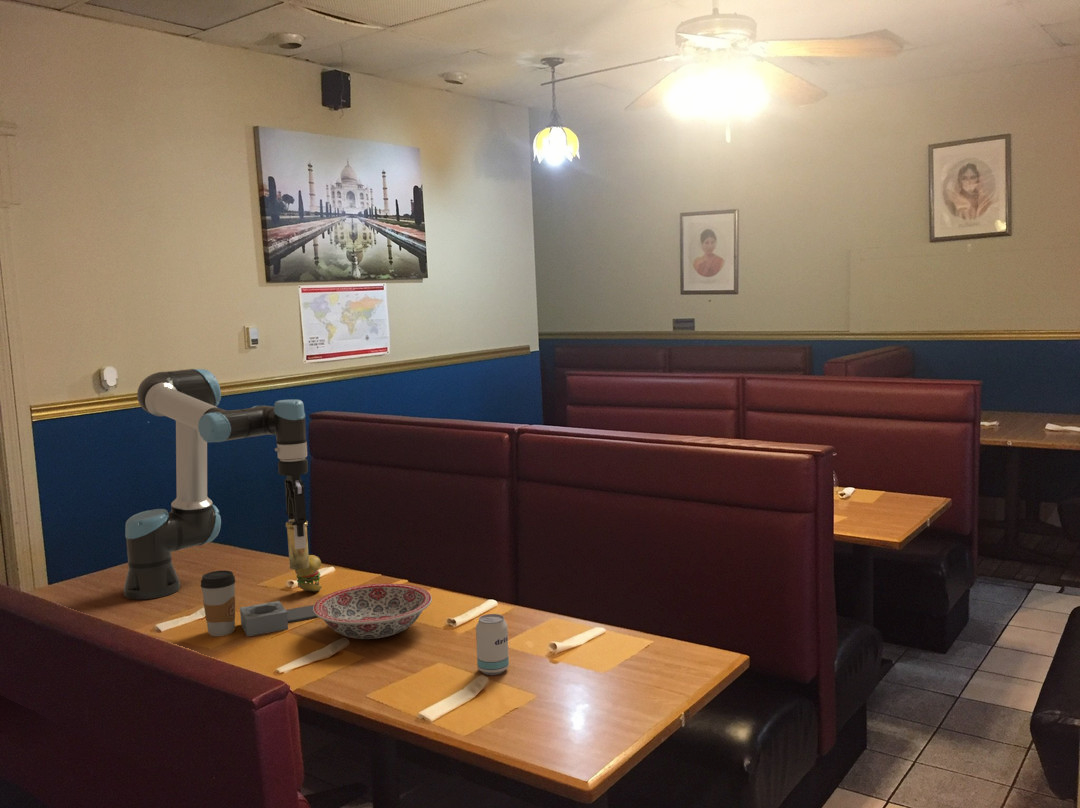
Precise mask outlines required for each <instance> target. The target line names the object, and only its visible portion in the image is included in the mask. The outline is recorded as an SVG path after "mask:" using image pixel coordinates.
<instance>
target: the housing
mask: <svg viewBox="0 0 1080 808" xmlns="http://www.w3.org/2000/svg"><path fill="white" fill-rule="evenodd" d="M286 610H287V609H285V607H284V605H283V604H282V603H281V601H280V600H276V601H272V602H265V603H259V604H253V605H248V606H242V607H239V612H240V613H239V615H240V625H241V627H242V629H243V631H244V633H245V635H246V637H253V636H258V635H259V636H260V635H264V634H270V633H274V632H279V631H284V630H289V623H288V620H287V611H286Z"/></svg>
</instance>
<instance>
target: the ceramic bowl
mask: <svg viewBox="0 0 1080 808" xmlns="http://www.w3.org/2000/svg"><path fill="white" fill-rule="evenodd" d="M432 600H433V599H432V594H431V593H430V592H429V591H428V590H426V589H424V588H421V587H418V586H415V585H411V584H402V583H372V584H363V585H357V586H352V587H347V588H343V589H340V590H336V591H333V592H331V593H329V594H326V595H325V596H322V597H321V598H319V599H318V600H317V601H316V602H315V603H314V604H313V605H314V606H313V612H314V614H315V615H316V616H317V617H318V618H319V619H321V620H323V621H324V623H325V624H326V625H327V626H328V627H329V628H330V629H331V630H333V631H334V632H335V633H338V634H340V635H341V636H344V637H347V638H351V639H359V640H374V639H381V638H382V639H383V638H386V637H391V636H395V635H396V634H399V633H401V632H403V631H405V630H406V629H408V628H409V627H411V626H412V625H413V624H414V623H415V622H416V621H417V620H418V619H419V618H420V616H421V614H422V613H423V611H425V609H427V608H428V607H429V606H430V604H431V603H432Z"/></svg>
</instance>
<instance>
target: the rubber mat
mask: <svg viewBox="0 0 1080 808" xmlns="http://www.w3.org/2000/svg"><path fill="white" fill-rule="evenodd" d="M313 606H314V604H311V605H306V606H300V607H293V608H288V609H285V610H286V611H287V620H288V624H290V623H295V622H300V621H306V620H307V621H308V620H311V619H317V618H319V617H317V616H316V615H315V614H314V612H313Z"/></svg>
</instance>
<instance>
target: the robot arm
mask: <svg viewBox="0 0 1080 808" xmlns="http://www.w3.org/2000/svg"><path fill="white" fill-rule="evenodd" d="M221 392H222V391H221V386H220V383H219V381H218V379H217V378H216V376H215V375H214V374H213V372H211V371H210V370H208V369H205V368H190V369H188V368H187V369H180V370H169V371H159V372H155V373H152V374H149V375H148V376H147V377H145V378H144V379H143V380H142V381H141V383H140V384H139V386H138V388H137V392H136V398H137V402H138V403H139V406H140V407H141V408H142V409H143V410H144V411H146V412H147V413H149V414H150V415H153V416H156V417H167V418H169V419H172V420H174V421H175V455H176V456H175V457H176V458H175V460H176V461H175V463H176V466H175V467H176V468H175V469H176V497H175V499H174V500H173V501H172V502H171V505H170V508H171V509H170V511H169V512H168V509H165V508H155V509H151V510H150V509H149V510H148V509H147V510H145V511H141V512H138V513H136V514H133V515H132V516H130V517H129V518H128V519H127V520H126V522H125V529H124V531H125V533H124V536H125V541H126V553H127V554H126V555H127V563H128V564H127V566H128V571H127V574H126V578H125V581H124V585H123V595H124V598H126V599H130V600H150V599H157V598H162V597H166V596H170V595H172V594H175V593H176V592H178V591H179V590H180V589H181V580H180V578H179V576H178V573H177V571H176V569H175V567H174V565H173V562H172V560H173V559H172V552H173V553H174V552H176V551H181V550H186V549H188V548H194V547H197V546H200V547H201V546H203V545H205V544H208V543H210V542H212V541H214V540H215V539H217V537H218V536H219V534H220V531H221V525H222V518H221V515H220V510H219V509H218V507H217V506H216V505H215V504H214V503H213V501H212V499H210V498H209V497H208V443H222V442H227V441H232V440H239V439H244V438H245V439H246V438H252V437H253V438H254V437H258V436H268V435H270V436H271V435H272V436H275V437H276V447H275V448H274V451H275V452H276V453H277V459H278V461H277V470H278V471H277V473H278V475H279V476H283V477H286V478H284V480H283V483H284V489H285V491H284V492H285V508H286V509H285V511H286V516H287V518H288V522H289V521H294V523H292V525H294V539H295V549H301V548H306V536H305V523H306V522H307V521H308V520H307V513H306V512H307V511H306V499H305V489H306V487H305V485H304V481H303V480H302V478H301V475H305V474H307V473H308V472H309V464H308V463H309V461H308V459H307V457H308V444H307V443H308V442H307V432H306V431H307V429H306V412H305V406H304V402H303V401H302V400H301V399H297V398H296V399H280V400H276V401H275V402H274V404H273V405H274V406H272V405H271V406H270V405H265V404H263V405H254V406H252V407H249V408H241V409H233V410H232V409H231V410H227V409H223V408H220V407H217V406H219V404H220V402H221V399H222V393H221Z"/></svg>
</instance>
